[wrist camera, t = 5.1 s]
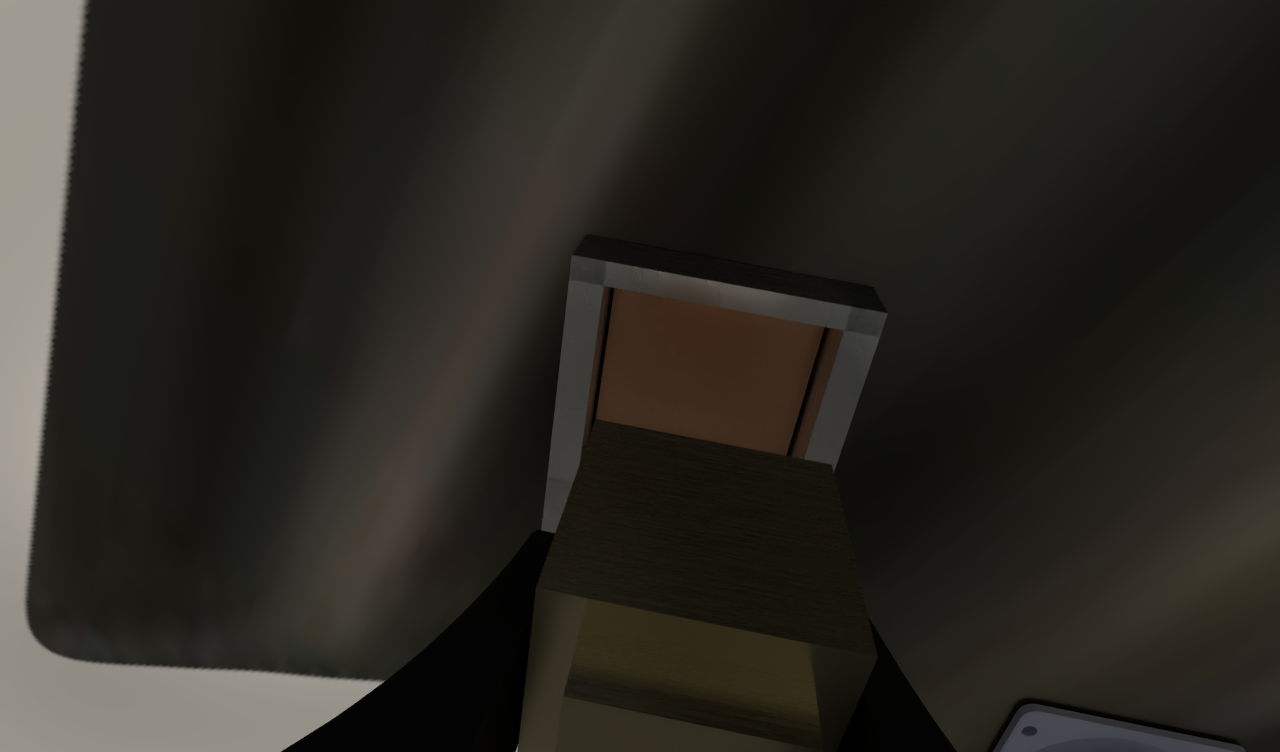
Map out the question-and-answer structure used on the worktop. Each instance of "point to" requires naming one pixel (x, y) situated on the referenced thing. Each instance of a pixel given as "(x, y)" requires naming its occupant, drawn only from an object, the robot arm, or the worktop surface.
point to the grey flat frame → (707, 355)
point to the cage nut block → (695, 604)
